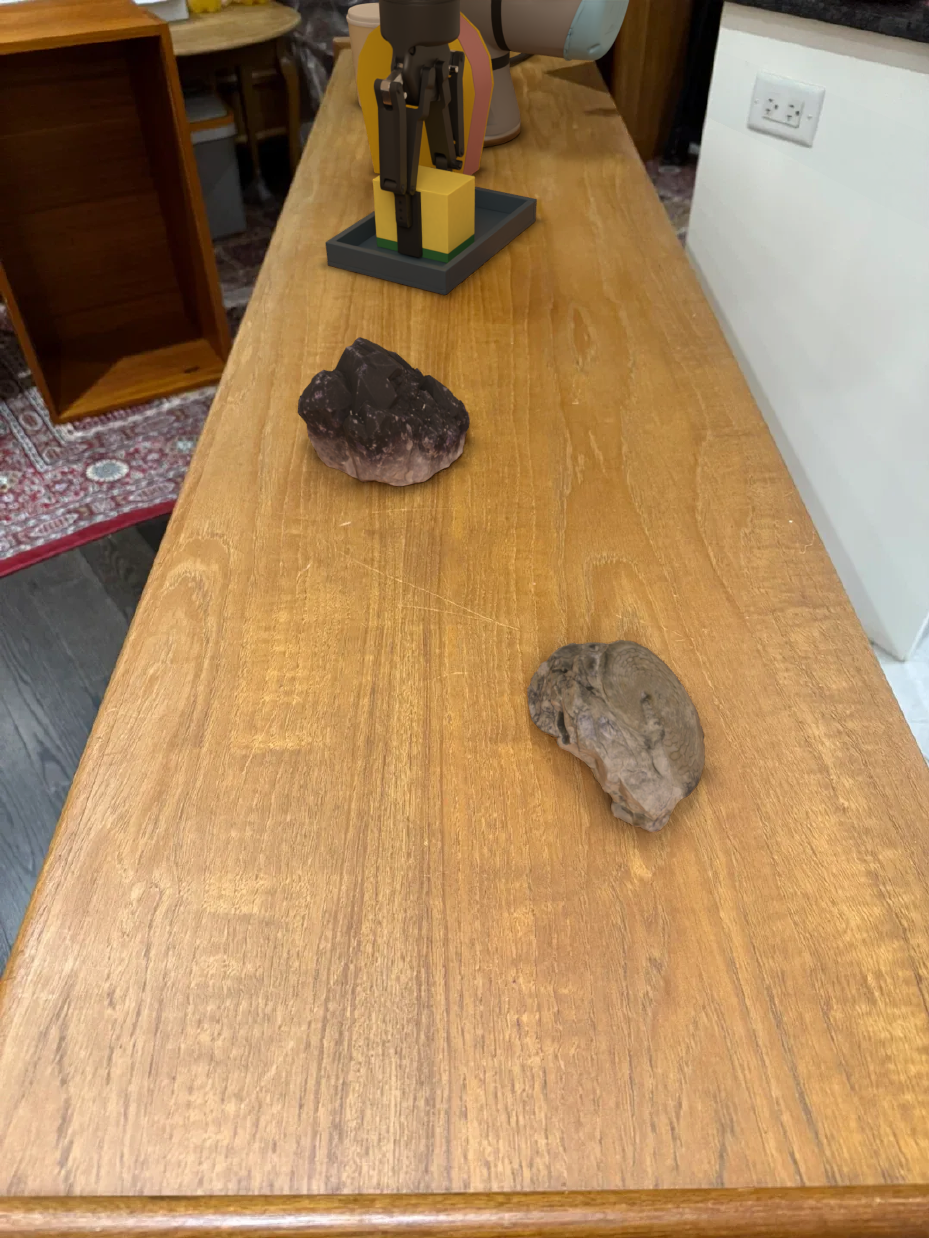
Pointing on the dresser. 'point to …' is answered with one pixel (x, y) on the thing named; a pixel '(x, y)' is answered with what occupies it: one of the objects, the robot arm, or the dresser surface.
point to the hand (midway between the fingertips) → (425, 242)
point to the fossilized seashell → (622, 725)
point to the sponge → (432, 213)
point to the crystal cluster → (382, 417)
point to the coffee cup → (361, 29)
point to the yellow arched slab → (378, 65)
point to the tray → (492, 231)
